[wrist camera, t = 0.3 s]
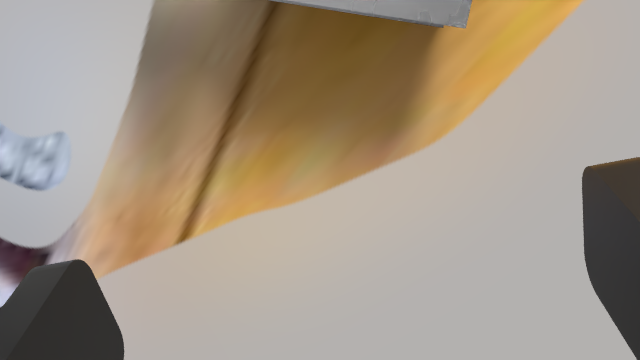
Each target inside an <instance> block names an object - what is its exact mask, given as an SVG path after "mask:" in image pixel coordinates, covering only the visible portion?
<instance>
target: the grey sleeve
mask: <svg viewBox="0 0 640 360" xmlns="http://www.w3.org/2000/svg"><path fill="white" fill-rule="evenodd" d="M270 1H277V2H283V3H289V4H296V5H302V6H308V7H315V8H321V9H327V10H334V11H340V12H346V13H353V14H359V15H365V16H372V17H378V18H384V19H391V20H397V21H404V22H410V23H416V24H423V25H429V26H435V27H442V28H443V26H444V25H447V26H454V27H460V28H466V25H467V20H468V16H469V11H470V7H471V2H472V0H270Z"/></svg>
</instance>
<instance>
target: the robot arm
mask: <svg viewBox="0 0 640 360" xmlns="http://www.w3.org/2000/svg"><path fill="white" fill-rule="evenodd" d="M582 195H583V224H584V226H583V227H584V254H585V261H586V267H587V271H588V275H589V278H590V281H591V283H592V286H593V288H594V290H595V292H596V294H597V296H598V297H599V299H600V301H601V302H602V304H603V305H604V307H605V309H606V310H607V312H608V313H609V315H610V317H611V318H612V320H613V322H614V323H615V325H616V326H617V328H618V330H619V331H620V333H621V334H622V336H623V337H624V339H625V341H626V342H627V344H628V346H629V347H630V349H631V350H632V352H633V353H634V355H635V357H636V358H637V360H640V157H636V158H631V159H626V160H620V161H615V162H609V163H604V164H599V165H593V166H588V167H586V168H585V170H584V172H583V177H582ZM123 359H124V343H123V338H122V334H121V331H120V329H119V326H118V324H117V322H116V320H115V318H114V316H113V314H112V312H111V310H110V307H109V305H108V303H107V301H106V299H105V297H104V295H103V293H102V291H101V289H100V287H99V285H98V282H97V280H96V278H95V276H94V274H93V272H92V270H91V268H90V267H89V266H88V264H87V263H85V262H84V261H82V260H72V261H66V262H61V263H55V264H50V265H44V266H39V267H35V268H33V269H31V270H30V271H29V272H28V274H27V275H26V276H25V278H24V279H23V280H22V282H21V283H20V284H19V286H18V287H17V288H16V290H15V291H14V292H13V294H12V295H11V296H10V298H9V299H8V300H7V302H6V303H5V304H4V305H3V306H2V307H1V308H0V360H123Z"/></svg>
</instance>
